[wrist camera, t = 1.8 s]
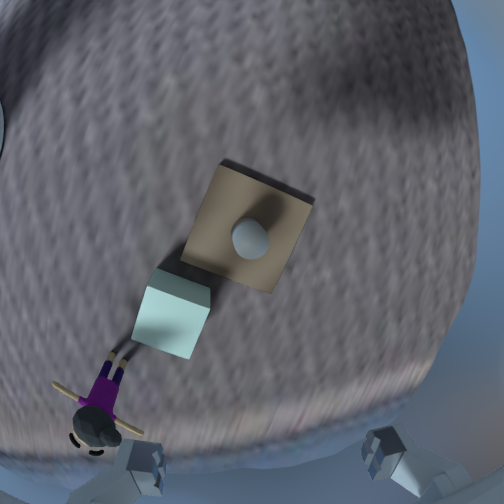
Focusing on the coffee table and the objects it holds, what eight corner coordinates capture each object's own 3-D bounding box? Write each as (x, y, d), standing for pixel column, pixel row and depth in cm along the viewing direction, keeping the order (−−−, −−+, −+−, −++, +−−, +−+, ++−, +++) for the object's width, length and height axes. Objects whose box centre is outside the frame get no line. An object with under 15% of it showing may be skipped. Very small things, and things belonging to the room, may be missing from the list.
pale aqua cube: (140, 315, 32) (131, 339, 27) (156, 267, 31) (147, 285, 26) (191, 333, 33) (189, 359, 29) (210, 287, 32) (210, 308, 28)
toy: (77, 344, 32) (28, 428, 18) (93, 313, 31) (38, 397, 17) (148, 387, 35) (129, 482, 21) (168, 360, 34) (154, 460, 20)
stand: (180, 257, 31) (175, 274, 26) (218, 164, 29) (220, 163, 24) (269, 290, 33) (279, 311, 28) (309, 204, 31) (327, 212, 26)
